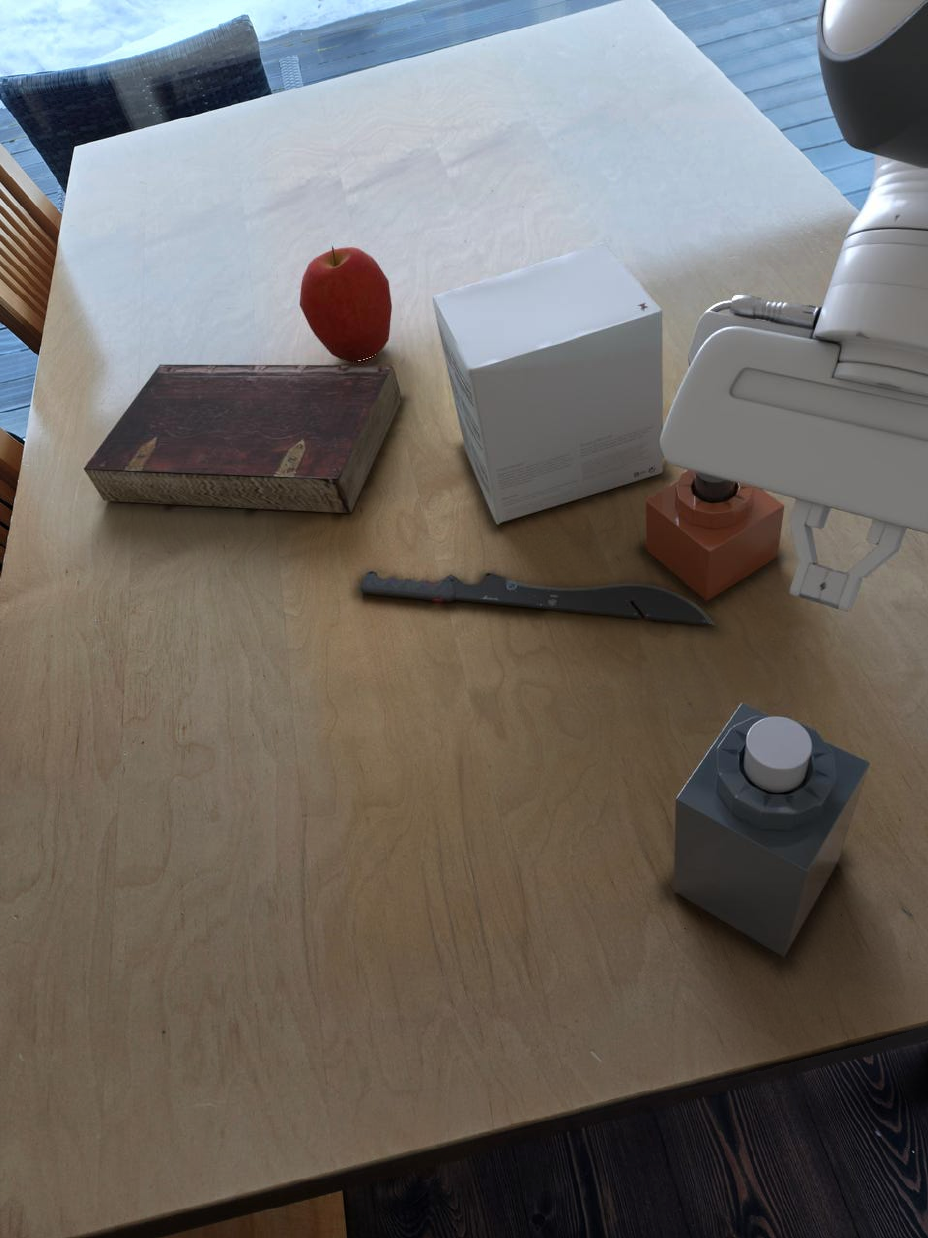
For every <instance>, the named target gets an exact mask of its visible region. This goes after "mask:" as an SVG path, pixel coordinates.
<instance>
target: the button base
mask: <svg viewBox="0 0 928 1238" xmlns="http://www.w3.org/2000/svg"><path fill="white" fill-rule="evenodd" d="M694 489H695V471H691V470H687V469H686V470H684V471H683V472H682V473H681V474H680V476H679V478H678V480H677V481H675V482H674V483H672V484H671V485H669V486H667V487H666V488H664V489H662V490H660V491H658V492H657V493H655V494H654V495H652V496H650V497H648V498H647V499H645V537H646V539H645V540H646V541H645V542H646V543H645V544H646V545H645V546H646V551H647V552H648V553H650V554H651V555H652V556H653V557H654V558H655V559H656V560H657V561H658V562H660V563H661V564H662V565H663V566H664V567H666V568H667V569H668V570H669V571H670V572H671V573H672V574H674V575H675V576H676V577H677V578H679V580H681V581H682V582H683V583H685V585H686V586H688V587H689V588H690V589H691V590H693V591H694V592H695V593H696V594H697V595H698V596H699V597H701V599H703V600H704V601H705V602H708V601H709V600H711V599H712V598H715V597H716V596H718V595H720V594H721V593H722V592H724V591H726V590H727V589H729V588H730V587H732V586H733V585H735V584H737V583H739V582H740V581H741V580H743V579H745V578H747V577H748V576H750V575H751V574H753V573H754V572H756V571H758V570H759V569H761V568H762V567H764V566H765V565H767V564H769V563H770V562H771V561H773V560H775V559H776V558H778V556H779V550H780V542H781V534H782V529H783V527H782V526H783V519H784V514H785V513H784V512H785V504H783V503H782V502H781V501H779V500H778V499H776V498H775V497H774V496H772V495H771V494H769V493H768V492H767V491H766V490H762V489H759V488H755V487H751V486H747V485H744V484H740V483H736V482H735V491H734V494H733V496H732V497H731V498H730V499H729V500H727V501H725V502H719V503H709V502H704V501H702V500H700V499H699V498H698V497H697V496H696V494H695V491H694Z"/></svg>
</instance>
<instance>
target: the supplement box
mask: <svg viewBox="0 0 928 1238" xmlns="http://www.w3.org/2000/svg"><path fill="white" fill-rule="evenodd" d="M432 304H433V305H432V306H433V309H434V314H435V319H436V324H437V328H438V329H437V330H438V332H439V337H440V338H439V339H440V342H441V347H442V351H443V355H444V360H445V365H446V369H447V375H448V377H449V382H450V387H451V391H452V397H453V401H454V405H455V409H456V413H457V414H456V415H457V418H458V423H459V428H460V432H461V435H462V441H463V446H464V451H465V453H466V456H467V458H468V461H469V463H470V465H471V467H472V470H473V473H474V475H475V478H476V480H477V482H478V484H479V487H480V490H481V491H482V494H483V496H484V498H485V501H486V504H487V505H488V508H489V510H490V513H491V515H492V517H493V520H494V522H495V524H496V525H500V524H501V523H504V522H508V521H511V520H514V519H517V518H521V517H524V516H528V515H531V514H534V513H537V512H540V511H543V510H547V509H550V508H554V507H557V506H560V505H563V504H567V503H570V502H574V501H577V500H580V499H583V498H587V497H589V496H592V495H596V494H599V493H602V492H605V491H609V490H613V489H615V488H618V487H622V486H625V485H629V484H631V483H635V482H639V481H641V480H644V479H648V478H651V477H654V476H657V475H660V474H662V473H664V454H663V452H662V449H661V446H660V437H661V434H662V431H663V428H664V402H663V401H664V400H663V399H664V397H663V396H664V395H663V393H664V391H663V388H664V386H663V385H664V384H663V383H664V381H663V377H664V376H663V374H664V373H663V309H661V307H660V305H658V304H657V303H656V302H655V301H654V299H652V297H651V296H650V295H649V293H648V292H647V290H645V288H644V287H643V286H642V284H641V283H640V282H639V280H638V279H637V278H636V277H635V276H634V275H633V274H632V272H631V271H630V270H629V269H628V267H627V266H626V265H625V264H624V263H623V261H622V260H621V259H620V258H619V257H618V256H617V254H615V252H614V251H613V250H612V249H611V247H610V246H609V245H608V243H606V241H601V242H599V243H596V244H593V245H590V246H586V247H584V248H581V249H578V250H574V251H571V252H569V253H566V254H563V255H560V256H556V257H553V258H550V259H546V260H544V261H540V262H537V263H534V264H531V265H527V266H524V267H521V268H518V269H515V270H512V271H509V272H506V273H503V274H499V275H496V276H493V277H489V278H486V279H484V280H480V281H477V282H474V283H470V284H467V285H463V286H460V287H457V288H454V289H451V290H449V291H444V292H441V293H437V294H434V295H432Z"/></svg>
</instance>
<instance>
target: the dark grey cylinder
mask: <svg viewBox="0 0 928 1238" xmlns="http://www.w3.org/2000/svg"><path fill="white" fill-rule="evenodd" d="M694 491H695V494H696V496H697V497H698V498H699V499H700V500H702V501H704V502H709V503H719V502H725V501H727V500H729V499H730V498H731V497H732V496H733V494H734V491H735V482H732V481H729V480H725V479H721V478H717V477H713V476H710V475H706V474H702V473H698V472H695V489H694Z"/></svg>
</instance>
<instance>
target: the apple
mask: <svg viewBox="0 0 928 1238" xmlns="http://www.w3.org/2000/svg"><path fill="white" fill-rule="evenodd" d="M390 289H391V287H390V281H389V279H388V278H387V276H386V274H385V273H384V271H383V269H381V267H380V265H379V263H378V262H377V261H376V260H375V258H373V256H372V255H370V254H368V253H367V252H365V251H363V250H362V249H361V248H358V247H353V246H351V247H350V246H349V247H340V248H334V246H333V245H331V249H330V250H328V251H327V252H324V253H322V254H320V255H318V256H316V257H315V258H314V259H312V261H310V262H309V264H308V265H307V267H306V269H305V271H304V273H303V275H302V278H301V285H300V293H299V294H300V295H299V307H300V309H301V312H302V314H303V315H304V317H305V320H306V322H307V324H308V326H309V328H310V330H311V331H312V332H313V334H314V336H315V337H316V338H317V339H318V340H319V342H320V343H321V344H322V345H323V346H324V347H325V349H326V350H327V351H328V352H329V353H330V355H331V356H333V357H335V358H337V359H339V360H341V361H344V360H346V361H345V362H348V363H350V364H364V363H367V362H370V361H372V360H374V359H375V358H376V357H377V356H378V355H379V354H380V353H381V352H382V351H383V349H384V348H385V346H386V345H387V343H388V342H389V338H390V329H391V320H392V310H393V304H392V297H391V290H390ZM375 354H376V355H375ZM372 356H373V357H372ZM369 357H371V358H369ZM366 358H368V359H366ZM363 359H365V360H363ZM358 360H361V361H358Z"/></svg>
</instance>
